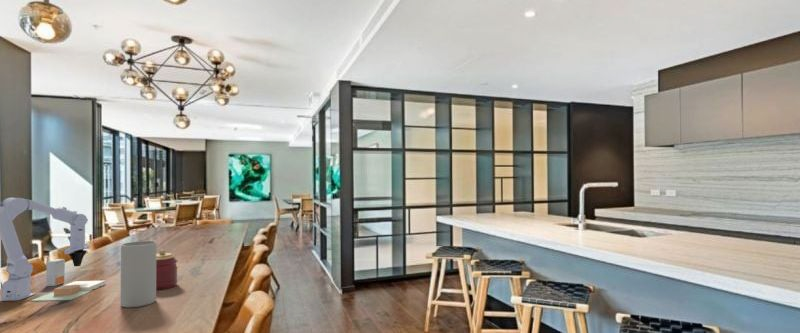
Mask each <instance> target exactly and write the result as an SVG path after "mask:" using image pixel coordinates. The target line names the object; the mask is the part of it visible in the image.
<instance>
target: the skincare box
mask: <svg viewBox="0 0 800 333" xmlns="http://www.w3.org/2000/svg"><path fill="white" fill-rule="evenodd" d="M65 259H66V258H56V259H52V260H49V261H46V275H45V279H46V280H45V281H46V282H45V283H46V285H45V286H46V287H55V286H58V285H62V284H65V273H66V272H65V268H66V264H65V263H66V260H65Z"/></svg>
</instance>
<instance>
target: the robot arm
mask: <svg viewBox="0 0 800 333" xmlns="http://www.w3.org/2000/svg"><path fill="white" fill-rule="evenodd" d="M31 210H34V211H37V212H41V213H45V214H48V215H50V216H51V217H52V219H54V220H56V221H57V220H58V221H61V222H64V223H66V224H69V226H70V227H69V228H70V230H69V231H70V232H69V235H70V236H69V248H66V249H64V255H68V256H70V259H71V261H72V263H73V266H74V267H81V265H82V262H83V259H84V257H85V255H86V253H87V250H89V249H90V248H91V247H90V246H91V245H90V244H86V225H87V223H88V220H89V219H88V218H87V216H86V215H85V214H84V213H77V212H78V211H76V210H71V209H67V207H65V206H62V207H60V206H58V207H56V208H55V207H53V206H49V205H47V204H45V203H41V202H38V201H35V200H33V199H32V200H31V199H25V198H23V197H13V196H12V197H8V198H5V199H4V200H3V201H1V202H0V239H1V242H2V245H3V248H4V251H5V253H6V256H7V259H6V266H7V267H6V272H7V274H9V275H8V277H7V278H8V279H7V280H6V281H4V282H3V283H2V284H1V287H0V288H1V291H0V292H1V298H0V302H3V301H4V302H5V301H6V302H7V301H8V302H9V301H21V300H24V299H26V298H30V297H31V296H35V295H36V293H37V292H31V291H32V290H31V285H32V279H31V278H32V275H31V274H32V272H33V271H34V266H33V264H32V263H30V262H29V261H28V258H27V257H26V256H25V254H24V252H23V248H22V245H21V243H20V241H19V240H20V239H19V236H18V233H17V231H16V228H15V226H14V222H13V221H14V220H15V218H16V217H17V216H19V215H20V214H22V213H23V212H25V211H31Z"/></svg>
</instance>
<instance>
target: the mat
mask: <svg viewBox="0 0 800 333" xmlns="http://www.w3.org/2000/svg"><path fill="white" fill-rule="evenodd" d="M91 292H92V290H91V291H80V292H77V293H75V294H73V295H65V296H54V291H53V292H52V291H51V292H49V293H47V294H44V295H42V296H41V295H40V297H37V298H34V299H31V300H30V302H48V301H49V302H53V301H56V302H57V301H72V300H74V299H77V298H79V297H81V296H84V295H87V294H88V293H91Z"/></svg>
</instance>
